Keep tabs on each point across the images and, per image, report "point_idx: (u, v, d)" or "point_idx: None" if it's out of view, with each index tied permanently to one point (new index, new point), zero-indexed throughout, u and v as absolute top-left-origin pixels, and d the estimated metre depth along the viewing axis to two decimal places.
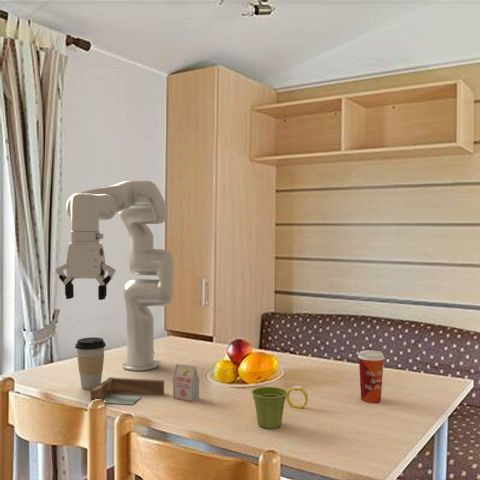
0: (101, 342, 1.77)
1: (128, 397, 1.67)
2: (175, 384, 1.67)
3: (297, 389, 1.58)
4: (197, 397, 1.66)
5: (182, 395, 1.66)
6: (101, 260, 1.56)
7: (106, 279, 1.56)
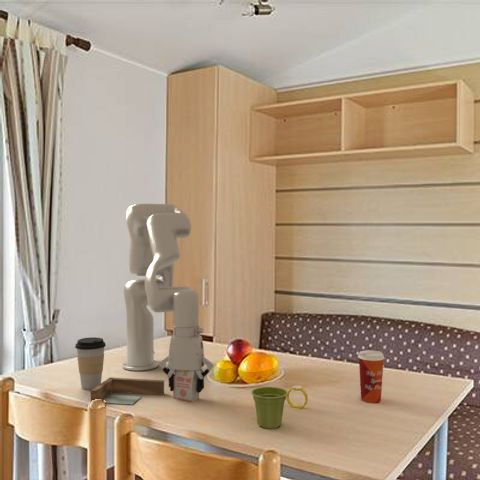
0: (101, 342, 1.77)
1: (128, 397, 1.67)
2: (175, 383, 1.67)
3: (297, 389, 1.58)
4: (197, 397, 1.66)
5: (182, 395, 1.66)
6: (202, 353, 1.66)
7: (204, 373, 1.65)
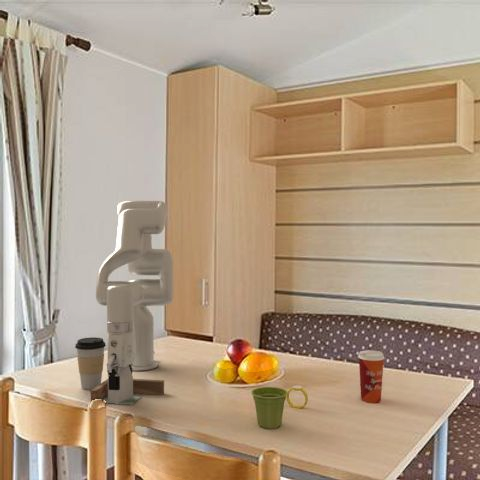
0: (101, 342, 1.77)
1: None
2: None
3: (297, 389, 1.58)
4: (115, 400, 1.62)
5: None
6: (112, 351, 1.60)
7: None
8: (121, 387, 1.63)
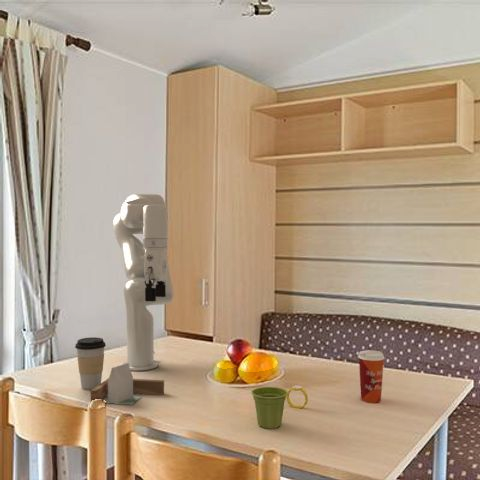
0: (101, 342, 1.77)
1: None
2: None
3: (297, 389, 1.58)
4: (115, 400, 1.62)
5: None
6: (148, 265, 1.71)
7: None
8: (121, 387, 1.63)
